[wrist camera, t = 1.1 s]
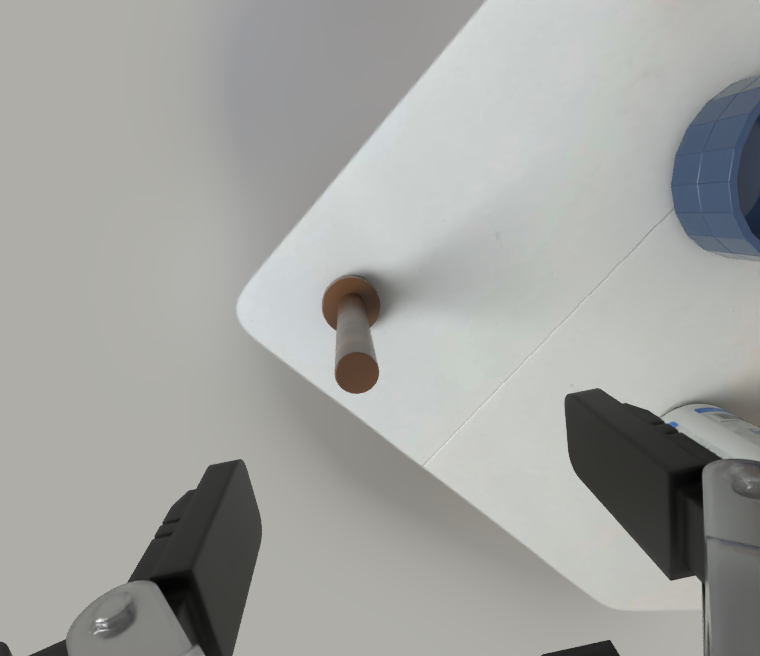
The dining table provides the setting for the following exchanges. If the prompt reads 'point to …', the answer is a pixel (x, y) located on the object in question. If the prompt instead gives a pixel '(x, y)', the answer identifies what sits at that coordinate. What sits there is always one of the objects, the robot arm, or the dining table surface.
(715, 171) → the bowl
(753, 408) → the dining table surface
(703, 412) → the supplement tub
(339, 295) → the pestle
